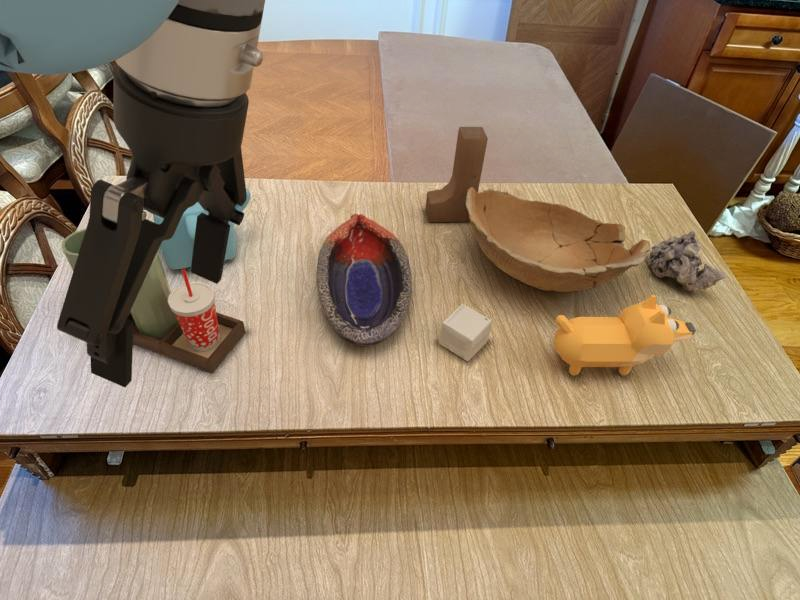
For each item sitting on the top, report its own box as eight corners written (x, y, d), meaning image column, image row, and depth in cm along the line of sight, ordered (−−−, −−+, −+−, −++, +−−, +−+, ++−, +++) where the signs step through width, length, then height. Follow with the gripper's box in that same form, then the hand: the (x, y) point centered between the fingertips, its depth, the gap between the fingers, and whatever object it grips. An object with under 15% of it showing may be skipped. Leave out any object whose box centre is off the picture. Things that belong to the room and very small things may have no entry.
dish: (311, 358, 79) (309, 335, 76) (322, 231, 101) (321, 209, 98) (416, 357, 81) (418, 335, 77) (404, 232, 102) (406, 210, 99)
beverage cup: (195, 362, 77) (172, 291, 67) (175, 338, 80) (149, 267, 70) (233, 341, 80) (216, 271, 70) (212, 318, 83) (193, 248, 73)
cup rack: (245, 332, 82) (243, 321, 81) (212, 373, 77) (208, 362, 75) (114, 287, 88) (110, 275, 86) (74, 322, 82) (68, 310, 80)
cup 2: (148, 348, 79) (118, 277, 69) (133, 324, 82) (103, 253, 73) (187, 330, 82) (164, 260, 72) (171, 307, 85) (147, 237, 75)
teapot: (267, 240, 99) (258, 175, 89) (202, 291, 88) (184, 224, 79) (193, 208, 105) (177, 144, 95) (124, 252, 94) (98, 186, 85)
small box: (458, 323, 86) (462, 302, 83) (488, 342, 84) (493, 320, 80) (437, 343, 83) (440, 322, 79) (467, 363, 80) (472, 341, 77)
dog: (680, 385, 80) (721, 325, 71) (548, 385, 78) (573, 324, 69) (659, 344, 85) (695, 284, 76) (536, 344, 84) (558, 283, 75)
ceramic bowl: (606, 215, 107) (635, 155, 95) (635, 331, 91) (674, 276, 79) (455, 209, 107) (464, 148, 95) (458, 323, 92) (469, 268, 79)
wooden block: (427, 223, 105) (437, 138, 93) (424, 209, 108) (433, 125, 96) (473, 222, 106) (488, 138, 94) (468, 209, 109) (483, 125, 97)
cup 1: (104, 332, 81) (69, 260, 71) (91, 309, 84) (56, 237, 74) (144, 315, 84) (115, 244, 74) (130, 293, 87) (101, 223, 77)
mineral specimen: (729, 290, 90) (720, 233, 87) (671, 304, 91) (662, 248, 89) (696, 273, 101) (688, 222, 99) (646, 286, 103) (636, 236, 100)
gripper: (105, 194, 22) (108, 459, 36) (317, 55, 42) (268, 260, 55) (-66, 118, 22) (2, 413, 35) (228, 14, 41) (200, 230, 55)
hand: (164, 320), depth 45 cm, fingers open, 13 cm apart
